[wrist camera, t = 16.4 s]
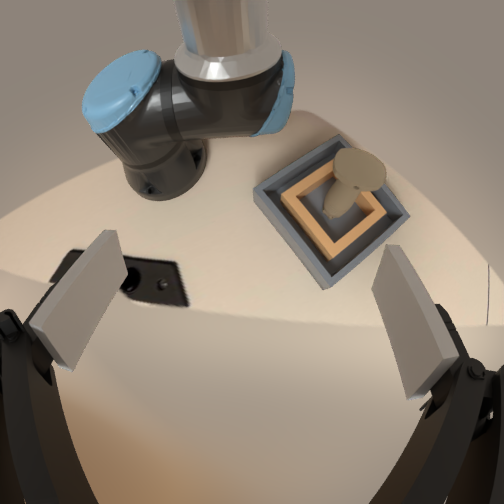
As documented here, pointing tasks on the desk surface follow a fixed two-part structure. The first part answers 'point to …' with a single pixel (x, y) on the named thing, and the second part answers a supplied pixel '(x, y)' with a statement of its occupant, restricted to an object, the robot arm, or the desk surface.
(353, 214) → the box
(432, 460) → the robot arm
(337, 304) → the desk surface
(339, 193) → the handle
